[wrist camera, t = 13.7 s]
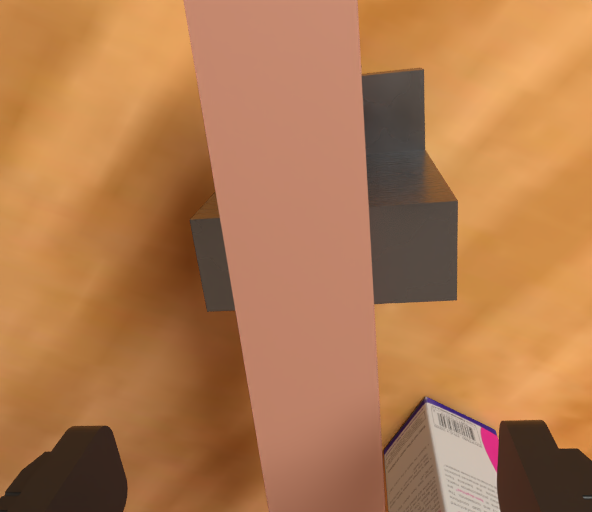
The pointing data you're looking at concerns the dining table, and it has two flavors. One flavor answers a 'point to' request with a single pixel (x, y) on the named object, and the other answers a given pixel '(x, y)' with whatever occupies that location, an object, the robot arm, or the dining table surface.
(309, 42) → the batten
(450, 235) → the stand
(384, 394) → the dining table surface
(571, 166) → the dining table surface
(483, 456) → the supplement box
